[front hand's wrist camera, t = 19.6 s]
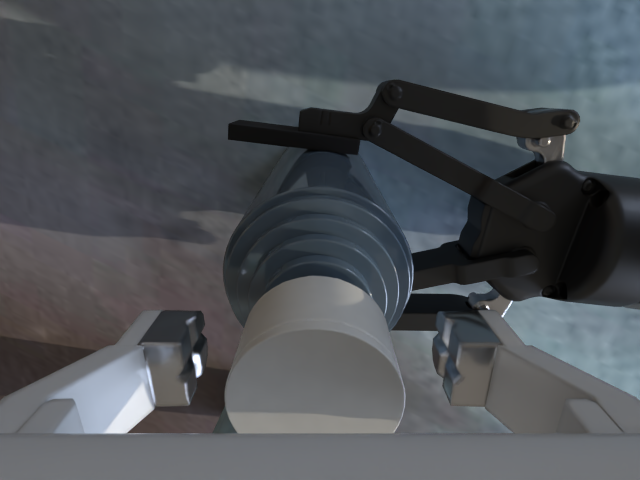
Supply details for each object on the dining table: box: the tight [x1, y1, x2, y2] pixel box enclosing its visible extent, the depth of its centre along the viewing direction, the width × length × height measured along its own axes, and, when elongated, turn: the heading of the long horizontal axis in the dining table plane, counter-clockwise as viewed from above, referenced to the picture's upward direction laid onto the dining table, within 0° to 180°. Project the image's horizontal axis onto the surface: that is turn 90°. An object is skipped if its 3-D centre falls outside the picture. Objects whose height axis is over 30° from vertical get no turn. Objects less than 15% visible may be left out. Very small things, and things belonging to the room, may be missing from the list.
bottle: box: [223, 147, 414, 332], centre depth 18 cm, size 7×7×20 cm
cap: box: [224, 276, 405, 433], centre depth 9 cm, size 4×4×2 cm
